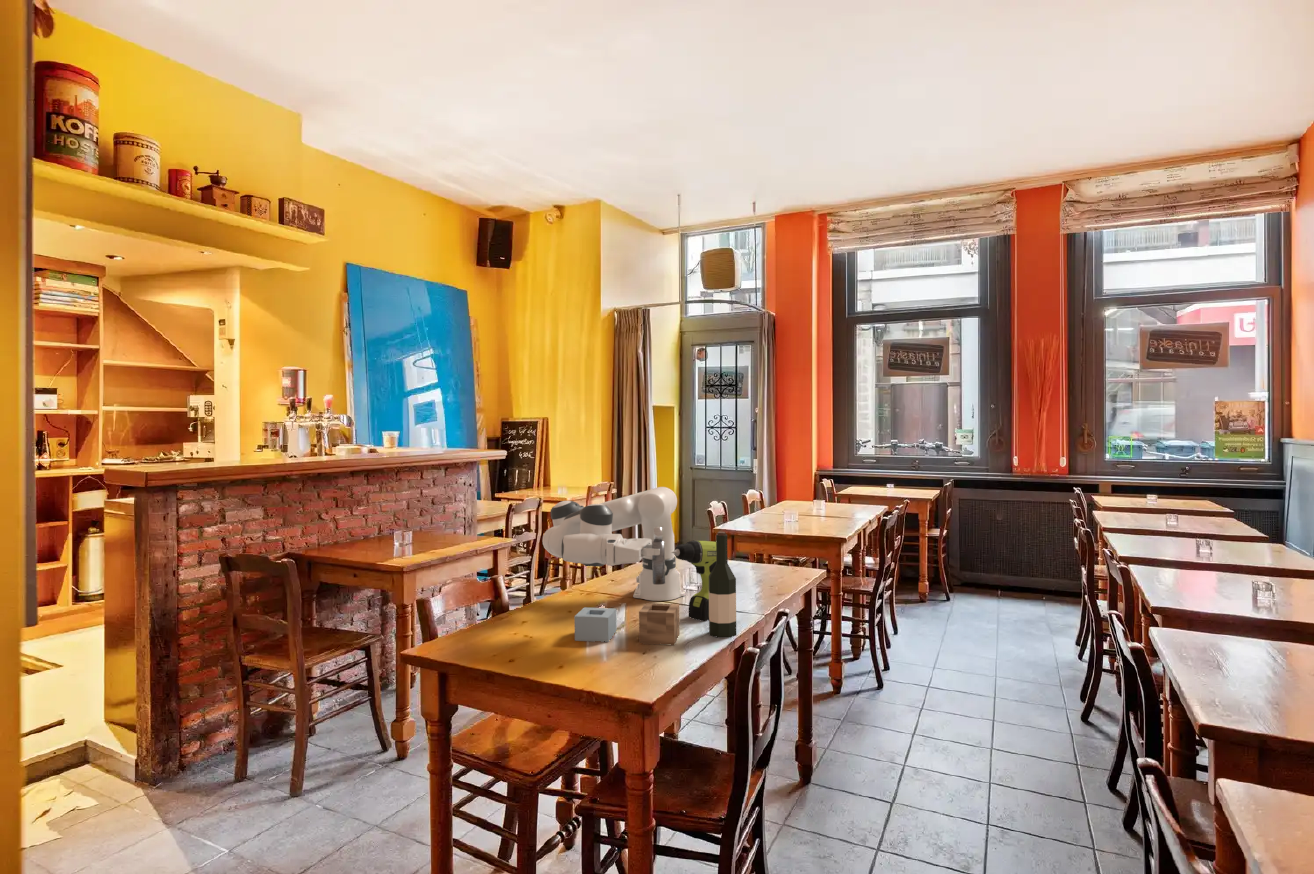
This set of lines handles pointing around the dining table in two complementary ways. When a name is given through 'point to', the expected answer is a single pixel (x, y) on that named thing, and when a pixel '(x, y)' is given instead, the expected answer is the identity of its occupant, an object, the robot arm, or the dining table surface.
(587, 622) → the socket block
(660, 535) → the stepped metal cylinder
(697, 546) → the cordless drill
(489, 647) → the dining table surface
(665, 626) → the block
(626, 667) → the dining table surface
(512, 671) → the dining table surface
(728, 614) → the wine bottle
